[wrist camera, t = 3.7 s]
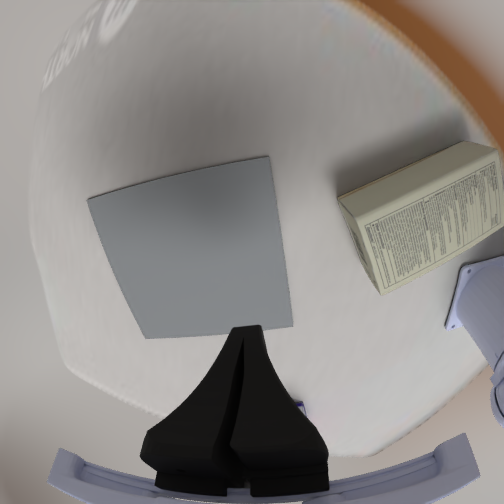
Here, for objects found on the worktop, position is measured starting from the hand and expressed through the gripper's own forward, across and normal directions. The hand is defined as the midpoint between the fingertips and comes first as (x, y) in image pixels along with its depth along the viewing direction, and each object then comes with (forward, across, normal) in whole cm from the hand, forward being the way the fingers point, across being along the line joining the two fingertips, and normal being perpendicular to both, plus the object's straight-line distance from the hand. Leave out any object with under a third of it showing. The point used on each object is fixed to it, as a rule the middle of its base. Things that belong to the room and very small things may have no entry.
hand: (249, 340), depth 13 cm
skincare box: (+6, -7, -1) cm, 9 cm away
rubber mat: (+8, +5, 0) cm, 10 cm away
